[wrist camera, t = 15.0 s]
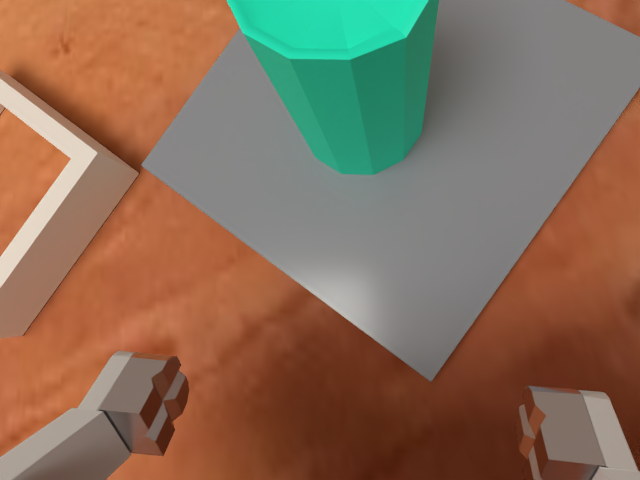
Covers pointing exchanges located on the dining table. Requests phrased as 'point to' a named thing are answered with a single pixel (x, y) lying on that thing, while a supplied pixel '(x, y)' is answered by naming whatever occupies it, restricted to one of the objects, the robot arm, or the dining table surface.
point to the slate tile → (412, 168)
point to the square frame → (55, 210)
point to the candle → (347, 72)
